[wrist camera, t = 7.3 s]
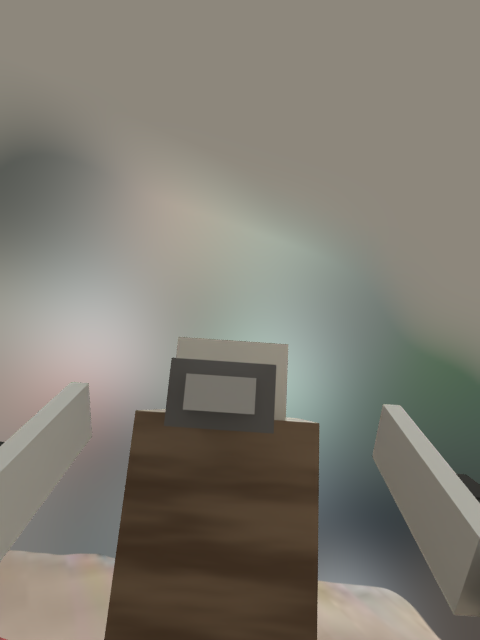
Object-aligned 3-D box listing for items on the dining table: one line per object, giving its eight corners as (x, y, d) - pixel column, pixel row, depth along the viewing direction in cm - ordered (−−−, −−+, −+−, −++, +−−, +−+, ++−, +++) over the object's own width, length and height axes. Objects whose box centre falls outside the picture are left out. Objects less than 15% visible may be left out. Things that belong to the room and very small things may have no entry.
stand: (313, 994, 19) (319, 423, 26) (58, 974, 19) (135, 410, 26) (286, 792, 28) (296, 418, 36) (119, 780, 28) (162, 409, 36)
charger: (353, 441, 11) (351, 271, 13) (80, 423, 11) (110, 255, 13) (273, 416, 35) (275, 358, 37) (186, 410, 35) (192, 353, 37)
